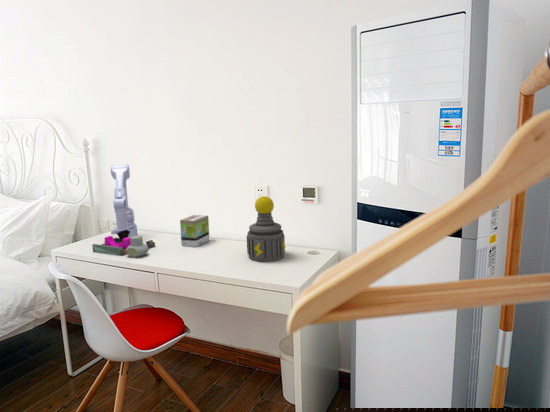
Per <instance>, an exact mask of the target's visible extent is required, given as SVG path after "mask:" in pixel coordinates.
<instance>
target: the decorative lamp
mask: <svg viewBox="0 0 550 412" xmlns="http://www.w3.org/2000/svg"><path fill="white" fill-rule="evenodd" d="M274 205H275V204H274V201H273V200H272V198H271V197H269V196H266V195H265V196H259V197H258V198H257V199H256V201H255V202H254V208H255V210H256V212H257V217H256V221H255V223H252V224H250V225H249V227H248V229H249V230H248V231H247V235H246V247H247V248H246V249H247V250H246V253H247V255H248V259H250V260H251V261H254V262H260V263H263V262H267V263H269V262H275V261H278V260H280V259H282V258H284V257H285V253H286V243H285V241H286V239H285V234H284V230H283V229H282V224H280V223H278V222H276V221H274V220H273V219H274V217H273V215H272V212H273V211H274V208H275V207H274ZM268 261H269V262H268Z"/></svg>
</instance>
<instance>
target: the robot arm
mask: <svg viewBox="0 0 550 412" xmlns="http://www.w3.org/2000/svg"><path fill="white" fill-rule="evenodd" d="M130 172H131V170H130V166H129V164H128V163H127V164H116V165H115V164H112V165H111V166H110V174H111V176H112V178H113V180H115V185H116V187H115V188H114V199H113V201H112V202H113V208H114V213H115V219H116V221H115V222H116V228H114V229H113V230H111V231H110V234H111V236H113V235H115V236H116V235H117V237H118V238H120V240H121V242H122V240H123V239H124V238H127V237H129V238H130V237H132V236H136V235H138V225H137V224H136V223H135V212H134V209H133V208H131V207H130V206H129V202H128V192H127V191H128V190H127V189H128V188H127V180H128V179H130V176H131V173H130Z"/></svg>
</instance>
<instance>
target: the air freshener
mask: <svg viewBox="0 0 550 412" xmlns="http://www.w3.org/2000/svg"><path fill="white" fill-rule="evenodd" d="M130 241H131V245H130V246H128V248H127V249H126V252H127V254H126V255H128V256H130V257H132V258H139V257H143V256H145V255H146V254H148V252H149V250H150V249H149V248H148V246H147V245H146V243H144V240H143V235H140V234H139V235H136V236H132V237H130Z"/></svg>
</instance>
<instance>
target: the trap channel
mask: <svg viewBox="0 0 550 412" xmlns="http://www.w3.org/2000/svg"><path fill="white" fill-rule="evenodd" d="M113 239H114V241H115V242H116V243H120V242H121V240H120V238H119V237H113ZM155 242H156V241H155ZM155 242H154V240H153V239H151V240H147V241H145V244H146V245H147V246H148V248H149V250H150V249H152V248H155V247H156V243H155ZM121 243H122V242H121ZM91 245H92V252H93V253H99V254H106V255H113V256H121V257H123V256H126V255H128V254H127V252H126V249H124V250H123V248H121V247H113V246H106V245H105V240H104V241H103V243H102V244H98V243H92V244H91Z"/></svg>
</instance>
